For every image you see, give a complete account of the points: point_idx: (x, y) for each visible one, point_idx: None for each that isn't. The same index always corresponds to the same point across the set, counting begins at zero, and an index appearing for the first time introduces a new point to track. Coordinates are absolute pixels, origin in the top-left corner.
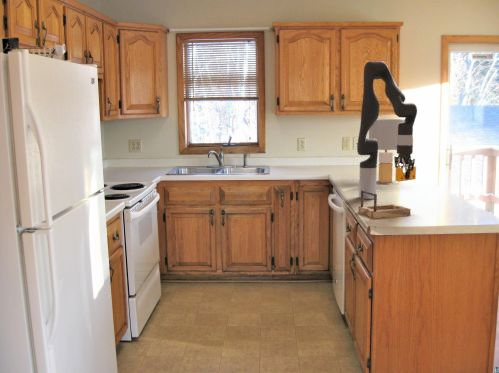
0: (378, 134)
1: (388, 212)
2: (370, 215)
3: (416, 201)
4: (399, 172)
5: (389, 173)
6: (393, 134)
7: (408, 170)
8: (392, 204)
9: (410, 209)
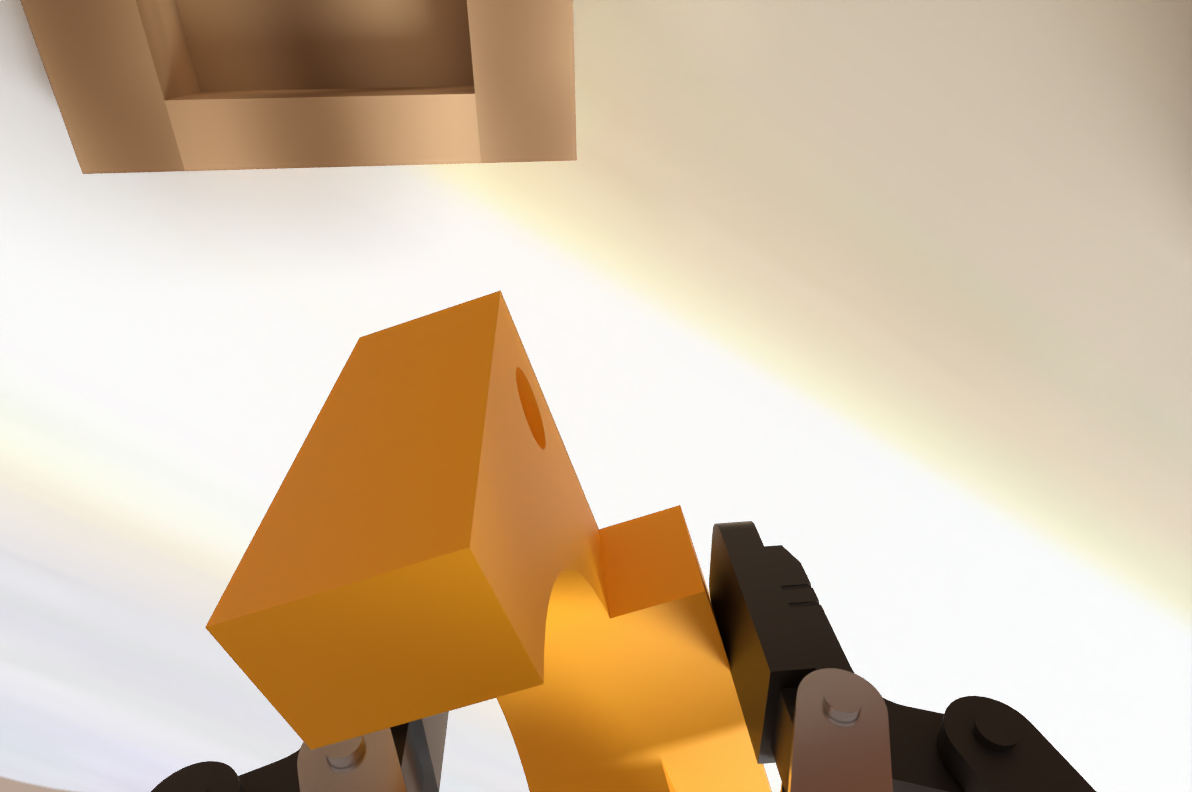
0: None
1: None
2: None
3: (855, 610)
4: (298, 484)
5: None
6: None
7: (191, 773)
8: (509, 115)
9: (86, 171)
